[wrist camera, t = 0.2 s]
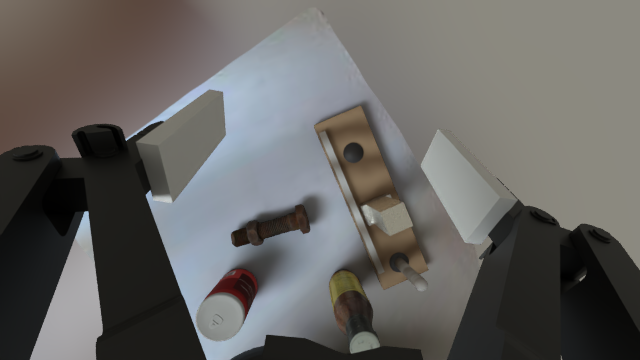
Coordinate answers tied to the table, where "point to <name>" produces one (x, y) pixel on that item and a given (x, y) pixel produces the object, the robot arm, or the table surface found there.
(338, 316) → the sauce bottle
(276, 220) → the bolt
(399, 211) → the block
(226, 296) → the canned food
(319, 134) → the board
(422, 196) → the table surface
